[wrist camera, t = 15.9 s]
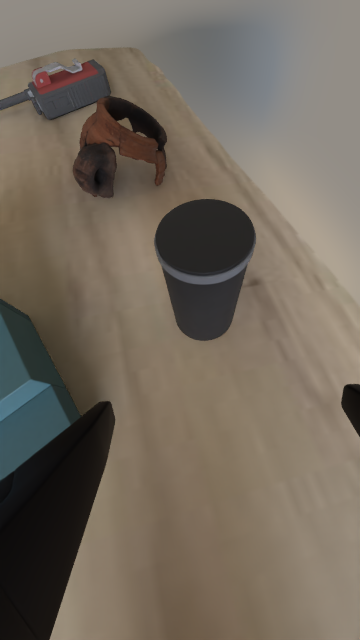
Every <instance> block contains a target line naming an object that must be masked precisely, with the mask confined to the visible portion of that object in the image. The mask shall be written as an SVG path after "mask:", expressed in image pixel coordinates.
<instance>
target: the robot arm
mask: <svg viewBox="0 0 360 640" xmlns="http://www.w3.org/2000/svg"><path fill="white" fill-rule="evenodd" d="M341 405H342V408H343V410H344V412H345V413H346V415H347V417H348V418H349V420H350V422H351V423H352V425H353V427H354V428H355V430H356V432H357V433H358V435H359V437H360V385H359V384H347V385H345V386H344V389H343V395H342V401H341ZM114 425H115V416H114V412H113V408H112V404H111V402H109V401H103V402H99V403H98V404H96V405H95V406H94V407H93V408H91V409H90V410H89V411H88V412H86V413H85V414H84V415H83V416H81V417H80V418H79V419H77V420H76V421H75V422H74V423H72V424H71V425H70V426H69V427H67V428H66V429H65V430H64V431H62V432H61V433H60V434H59V435H57V436H56V437H55V438H54V439H52V440H51V441H50V442H49V443H47V444H46V445H45V446H44V447H42V448H41V449H40V450H39V451H37V452H36V453H35V454H34V455H32V456H31V457H30V458H29V459H27V460H26V461H25V462H24V463H22V464H21V465H20V466H18V467H17V468H16V469H15V471H12V472H11V473H10V474H8V475H7V476H6V477H5V478H3V479H2V480H1V481H0V640H49V639H50V636H51V633H52V630H53V627H54V624H55V621H56V618H57V615H58V611H59V608H60V605H61V602H62V599H63V596H64V593H65V590H66V587H67V584H68V580H69V577H70V574H71V571H72V568H73V565H74V562H75V559H76V556H77V553H78V549H79V546H80V543H81V540H82V537H83V534H84V531H85V528H86V525H87V522H88V518H89V515H90V512H91V509H92V506H93V503H94V500H95V497H96V494H97V491H98V487H99V484H100V481H101V478H102V475H103V472H104V469H105V465H106V462H107V458H108V453H109V449H110V444H111V439H112V434H113V430H114Z"/></svg>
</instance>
